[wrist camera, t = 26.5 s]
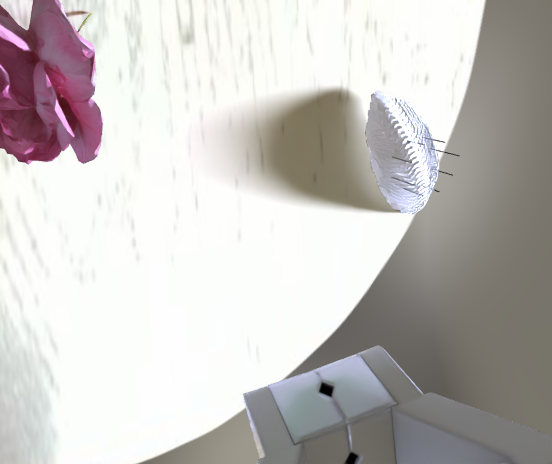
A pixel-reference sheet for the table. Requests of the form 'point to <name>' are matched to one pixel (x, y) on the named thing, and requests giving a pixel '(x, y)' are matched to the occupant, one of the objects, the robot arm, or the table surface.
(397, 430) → the robot arm
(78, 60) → the flower
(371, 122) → the pincushion
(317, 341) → the table surface
